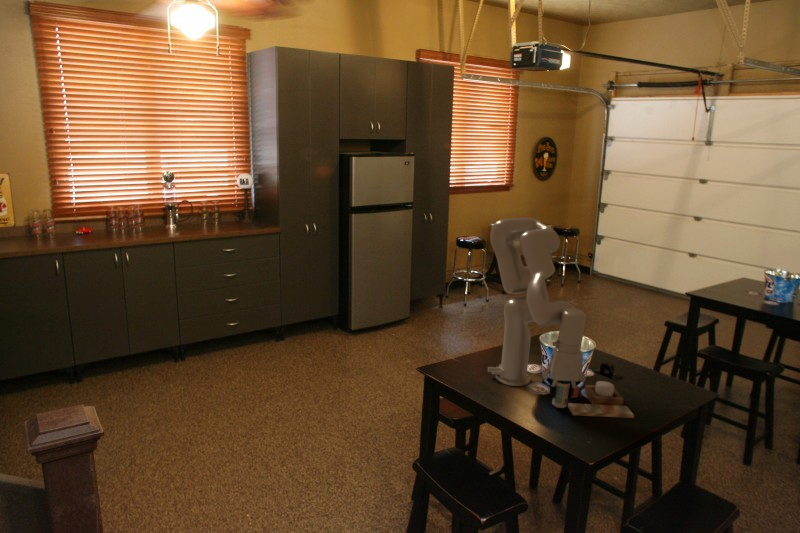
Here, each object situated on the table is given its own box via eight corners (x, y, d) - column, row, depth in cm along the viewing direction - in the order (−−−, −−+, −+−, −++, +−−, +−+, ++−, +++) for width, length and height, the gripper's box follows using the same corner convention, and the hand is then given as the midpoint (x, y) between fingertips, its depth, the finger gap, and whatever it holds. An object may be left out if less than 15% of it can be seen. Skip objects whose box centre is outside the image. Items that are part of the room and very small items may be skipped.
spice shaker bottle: (565, 402, 198) (570, 370, 195) (567, 409, 194) (573, 376, 190) (550, 401, 199) (555, 368, 195) (552, 408, 194) (558, 375, 191)
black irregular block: (587, 371, 229) (588, 360, 228) (598, 367, 234) (599, 356, 233) (615, 383, 220) (616, 371, 219) (626, 378, 224) (627, 367, 223)
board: (573, 415, 192) (573, 411, 192) (567, 405, 199) (568, 402, 198) (633, 418, 193) (634, 414, 192) (626, 408, 199) (626, 405, 199)
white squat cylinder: (597, 401, 201) (599, 388, 200) (591, 393, 207) (593, 380, 206) (614, 402, 201) (616, 389, 200) (608, 394, 207) (610, 381, 206)
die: (567, 398, 204) (568, 387, 203) (561, 392, 208) (562, 382, 207) (577, 397, 205) (579, 386, 204) (571, 392, 209) (572, 381, 208)
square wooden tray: (593, 406, 199) (594, 397, 199) (584, 392, 209) (585, 384, 208) (622, 407, 200) (623, 399, 199) (612, 394, 209) (613, 386, 209)
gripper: (545, 349, 186) (537, 400, 192) (598, 352, 187) (589, 404, 192) (540, 340, 194) (532, 389, 199) (591, 343, 194) (582, 392, 199)
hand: (560, 396), depth 195 cm, fingers closed on spice shaker bottle, 4 cm apart
